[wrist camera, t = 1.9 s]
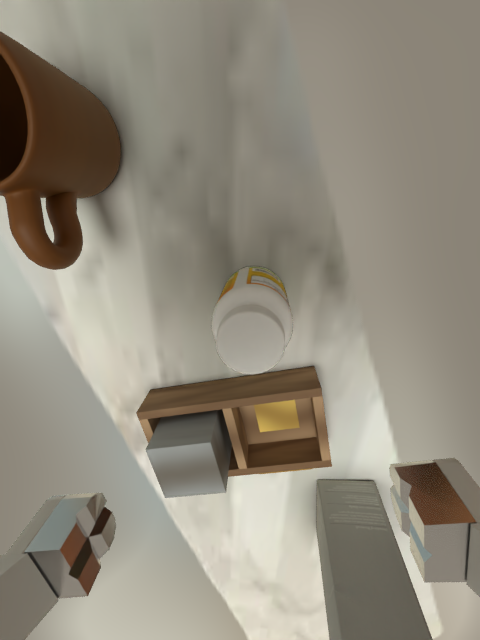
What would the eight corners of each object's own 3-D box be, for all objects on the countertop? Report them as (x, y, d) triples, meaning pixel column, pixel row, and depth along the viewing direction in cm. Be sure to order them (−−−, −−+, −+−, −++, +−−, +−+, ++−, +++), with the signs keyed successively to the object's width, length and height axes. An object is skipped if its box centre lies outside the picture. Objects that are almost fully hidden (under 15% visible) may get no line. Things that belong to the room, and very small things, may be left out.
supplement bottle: (234, 331, 27) (220, 394, 18) (214, 275, 25) (188, 314, 16) (292, 315, 26) (308, 374, 17) (276, 256, 24) (284, 287, 15)
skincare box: (369, 529, 35) (447, 764, 20) (308, 527, 36) (340, 754, 21) (376, 476, 32) (474, 706, 17) (309, 475, 33) (347, 697, 18)
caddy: (150, 389, 30) (121, 437, 24) (314, 366, 28) (328, 411, 22) (175, 456, 33) (155, 513, 27) (324, 440, 31) (340, 498, 25)
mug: (156, 243, 25) (98, 263, 16) (74, 261, 26) (-22, 290, 17) (102, 69, 21) (-16, -30, 12) (8, 100, 22) (-164, 29, 13)
